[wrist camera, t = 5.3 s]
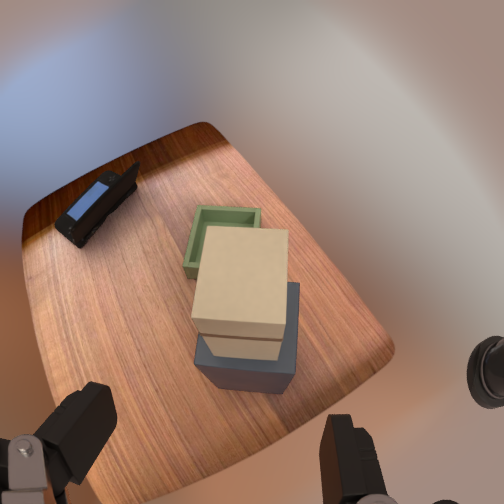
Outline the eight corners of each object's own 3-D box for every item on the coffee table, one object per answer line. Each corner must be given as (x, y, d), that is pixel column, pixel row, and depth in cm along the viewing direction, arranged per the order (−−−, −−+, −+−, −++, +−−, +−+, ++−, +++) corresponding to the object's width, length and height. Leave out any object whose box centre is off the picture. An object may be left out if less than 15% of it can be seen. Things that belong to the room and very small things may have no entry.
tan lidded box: (281, 291, 27) (289, 228, 19) (278, 361, 24) (286, 325, 16) (221, 287, 27) (206, 224, 20) (213, 356, 24) (189, 318, 16)
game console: (109, 173, 57) (94, 139, 50) (155, 197, 53) (141, 158, 45) (54, 228, 50) (31, 197, 43) (95, 262, 46) (69, 229, 39)
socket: (261, 222, 49) (261, 208, 46) (254, 284, 44) (254, 272, 41) (200, 219, 50) (197, 204, 47) (187, 278, 45) (182, 266, 42)
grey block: (287, 333, 40) (299, 282, 27) (282, 394, 36) (295, 374, 23) (225, 328, 41) (208, 275, 28) (217, 388, 36) (193, 364, 24)
